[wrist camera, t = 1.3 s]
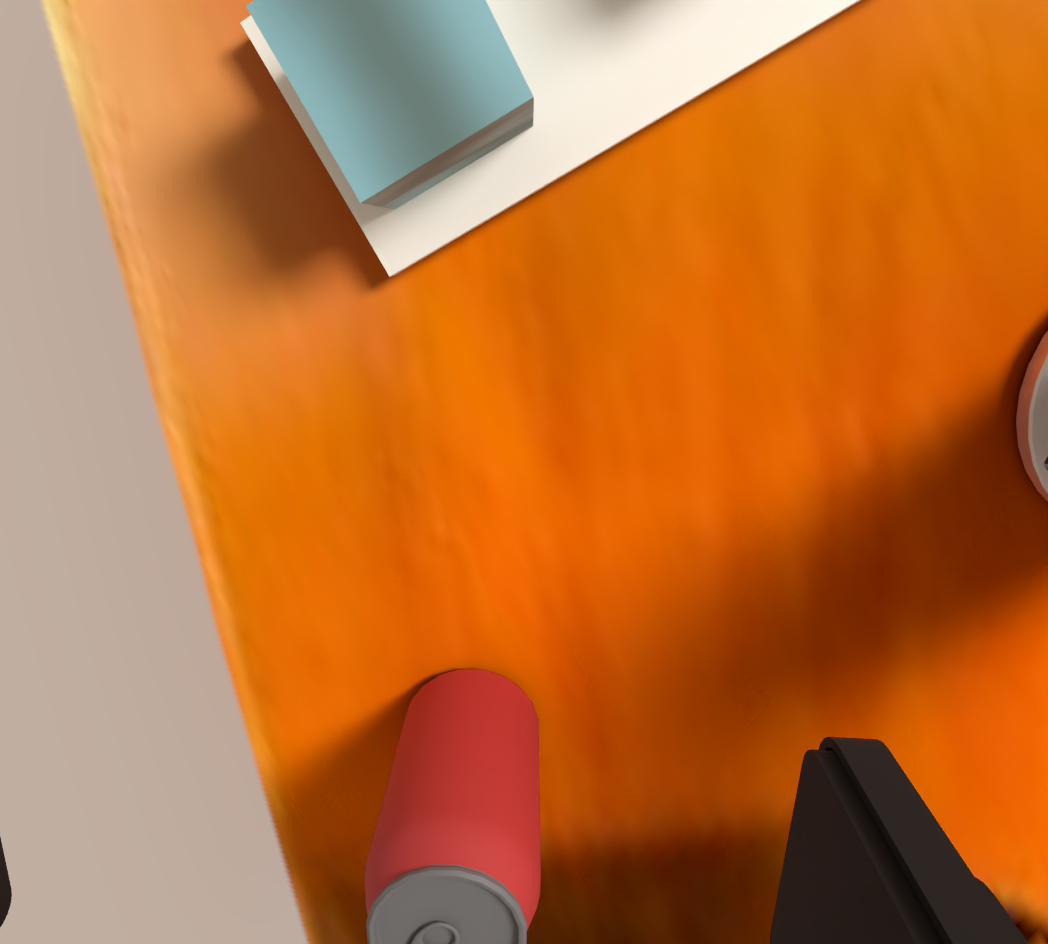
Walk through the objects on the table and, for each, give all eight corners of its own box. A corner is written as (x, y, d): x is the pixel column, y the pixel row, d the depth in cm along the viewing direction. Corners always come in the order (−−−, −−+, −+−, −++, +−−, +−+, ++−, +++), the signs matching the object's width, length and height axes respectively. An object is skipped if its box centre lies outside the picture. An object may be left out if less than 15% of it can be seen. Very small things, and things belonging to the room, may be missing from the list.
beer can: (379, 718, 37) (310, 934, 26) (471, 636, 36) (442, 826, 24) (474, 797, 38) (449, 1034, 27) (566, 720, 37) (582, 938, 26)
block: (450, -40, 26) (427, -118, 20) (533, 125, 27) (533, 97, 22) (306, 54, 27) (245, 5, 21) (395, 209, 28) (360, 202, 23)
